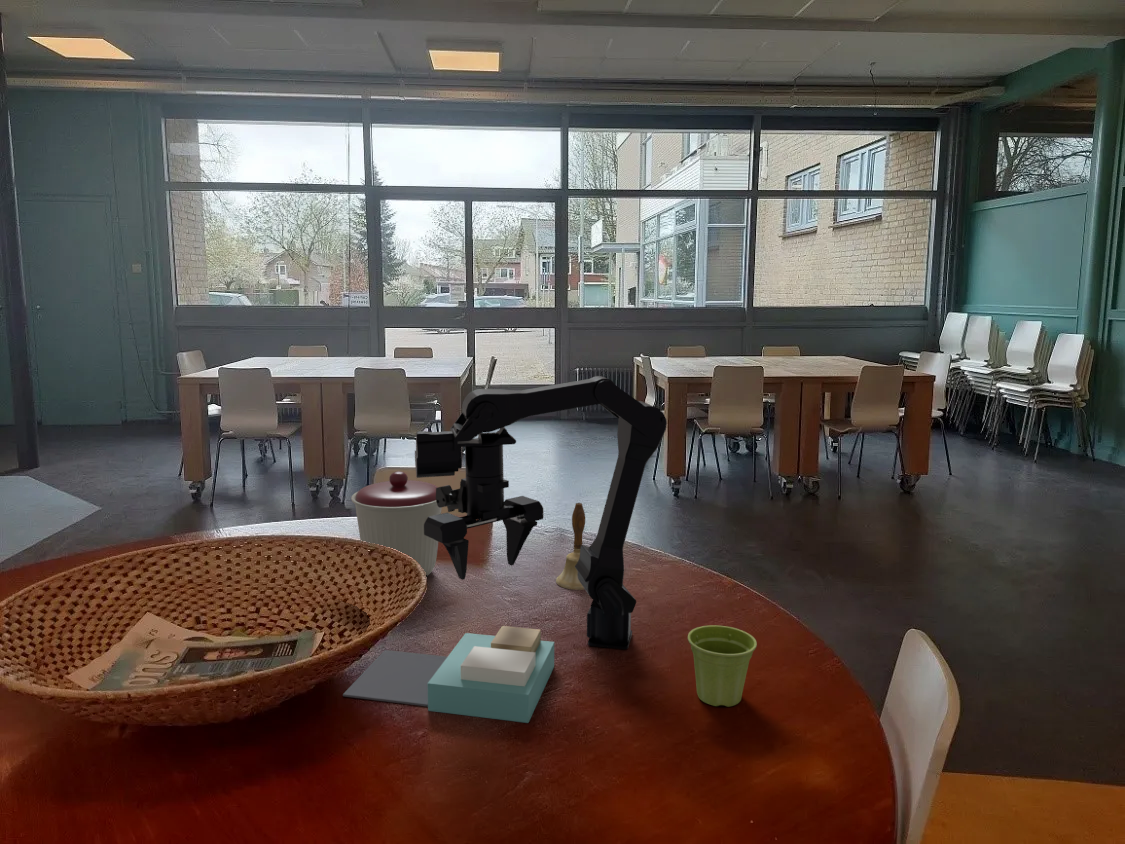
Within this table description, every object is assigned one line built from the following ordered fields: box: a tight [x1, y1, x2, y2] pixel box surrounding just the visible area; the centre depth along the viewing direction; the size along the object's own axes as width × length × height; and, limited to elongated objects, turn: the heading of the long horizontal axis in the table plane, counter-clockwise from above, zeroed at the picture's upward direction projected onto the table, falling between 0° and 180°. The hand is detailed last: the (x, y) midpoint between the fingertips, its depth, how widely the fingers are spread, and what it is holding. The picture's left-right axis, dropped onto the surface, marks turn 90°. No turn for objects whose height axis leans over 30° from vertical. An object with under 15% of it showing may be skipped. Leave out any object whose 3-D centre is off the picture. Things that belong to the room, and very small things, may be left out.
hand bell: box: [555, 502, 586, 591], centre depth 152 cm, size 8×8×16 cm
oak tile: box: [491, 625, 542, 652], centre depth 115 cm, size 6×6×2 cm
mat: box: [342, 649, 448, 707], centre depth 115 cm, size 13×14×1 cm
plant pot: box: [687, 624, 758, 708], centre depth 110 cm, size 9×9×9 cm
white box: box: [461, 646, 535, 686], centre depth 108 cm, size 9×6×2 cm, turn 78°
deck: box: [427, 632, 555, 724], centre depth 112 cm, size 14×16×4 cm
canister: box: [350, 470, 443, 577], centre depth 154 cm, size 18×18×21 cm
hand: (486, 571), depth 121 cm, fingers open, 9 cm apart
